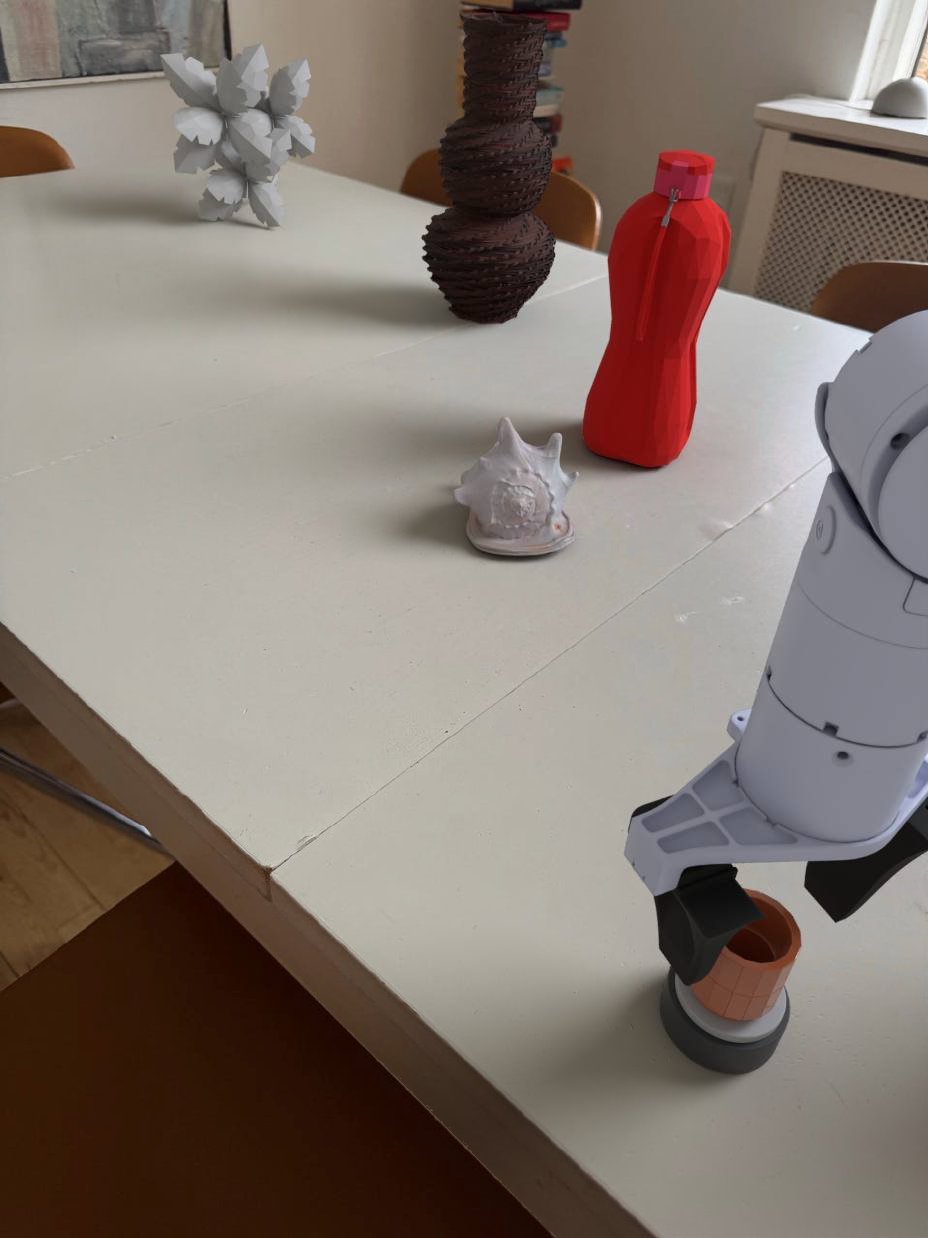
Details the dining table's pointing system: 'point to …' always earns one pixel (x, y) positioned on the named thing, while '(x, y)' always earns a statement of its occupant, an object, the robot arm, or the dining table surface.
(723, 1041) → the push button
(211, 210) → the flower bouquet
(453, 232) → the vase
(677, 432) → the water bottle
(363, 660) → the dining table surface
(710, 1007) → the cup
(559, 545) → the seashell
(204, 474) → the dining table surface
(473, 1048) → the dining table surface
